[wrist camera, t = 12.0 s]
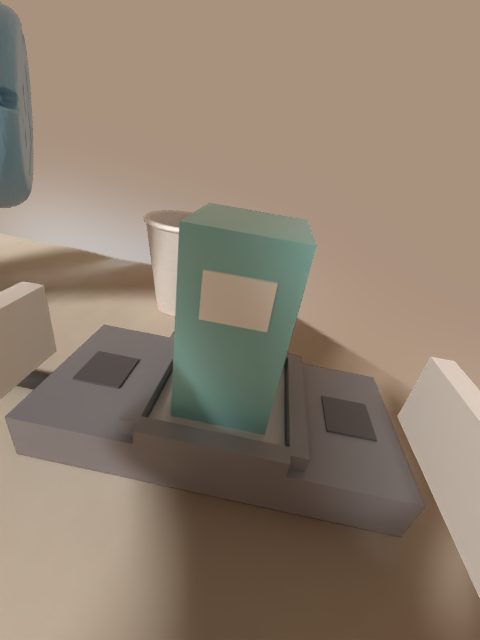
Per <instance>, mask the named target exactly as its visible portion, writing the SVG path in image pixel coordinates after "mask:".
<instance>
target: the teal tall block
mask: <svg viewBox="0 0 480 640" xmlns="http://www.w3.org/2000/svg"><path fill="white" fill-rule="evenodd" d="M315 249H316V243H315V241H314V238H313V235H312V233H311V230H310V227H309V224H308V222H307V220H303V219H298V218H292V217H287V216H281V215H275V214H270V213H264V212H258V211H252V210H247V209H241V208H235V207H230V206H224V205H218V204H212V203H208V204H207V205H205V206H203V207H202V208H200V209H199V210H197V211H195V212H194V213H192V214H190V215H189V216H187V217H185V218H184V219H182V220H180V221H179V242H178V264H177V286H176V309H175V331H174V353H173V376H172V398H171V416H173V417H178V418H183V419H188V420H193V421H198V422H202V423H207V424H212V425H217V426H222V427H226V428H231V429H236V430H241V431H246V432H251V433H255V434H260V435H265V432H266V428H267V425H268V421H269V417H270V414H271V410H272V406H273V403H274V399H275V395H276V392H277V388H278V384H279V381H280V377H281V373H282V370H283V366H284V362H285V359H286V355H287V351H288V348H289V344H290V341H291V337H292V333H293V330H294V326H295V322H296V319H297V315H298V311H299V307H300V304H301V300H302V297H303V293H304V289H305V286H306V282H307V278H308V275H309V271H310V267H311V263H312V260H313V256H314V252H315Z"/></svg>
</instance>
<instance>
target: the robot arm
mask: <svg viewBox="0 0 480 640" xmlns="http://www.w3.org/2000/svg"><path fill="white" fill-rule="evenodd" d="M32 180H33V126H32V108H31V92H30V80H29V70H28V60H27V52H26V45H25V40H24V36H23V33H22V29H21V22H20V20H19V17H18V15H17V14H16V13H15V12H14V11H13V10H12V9H11V8H9V7H8V6H5V5H3V4H1V3H0V208H10V207H13V206H17V205H19V204H21V203H22V202H24V201H25V200H26V199H27V198H28V196H29V195H30V192H31V189H32ZM56 351H57V350H56V345H55V340H54V335H53V329H52V324H51V319H50V313H49V308H48V303H47V298H46V292H45V287H44V285H41V284H35V283H30V282H25V281H22V282H20V283H18V284H16V285H13V286H11V287H9V288H7V289H5V290H3V291H1V292H0V399H1V398H3V397H4V396H5V395H6V394H7V393H8V392H9V391H11V390H12V389H13V388H14V387H15V386H16V385H18V384H19V383H20V382H21V381H22V380H23V379H25V378H26V377H27V376H28V375H29V374H30V373H31V372H33V371H34V370H35V369H36V368H37V367H38V366H40V365H41V364H42V363H43V362H44V361H45V360H47V359H48V358H49V357H50V356H51V355H52V354H54V353H55V352H56ZM397 417H398V419H399V422H400V424H401V426H402V428H403V430H404V433H405V435H406V437H407V439H408V441H409V444H410V446H411V448H412V450H413V453H414V455H415V457H416V459H417V461H418V464H419V466H420V468H421V470H422V472H423V475H424V477H425V479H426V481H427V483H428V486H429V488H430V490H431V492H432V495H433V497H434V499H435V501H436V503H437V506H438V508H439V510H440V512H441V514H442V517H443V519H444V521H445V523H446V525H447V528H448V530H449V532H450V534H451V537H452V539H453V541H454V543H455V545H456V548H457V550H458V552H459V554H460V556H461V559H462V561H463V563H464V565H465V567H466V570H467V572H468V574H469V576H470V578H471V581H472V583H473V585H474V587H475V590H476V592H477V594H478V596H479V598H480V390H479V389H478V388H477V387H476V386H475V385H474V383H473V382H472V381H471V380H470V379H469V378H468V377H467V375H466V374H465V373H464V372H463V371H462V369H461V368H460V367H459V366H458V365H457V364H456V362H455V361H451V360H445V359H440V358H434V357H431V358H430V359H429V361H428V363H427V365H426V366H425V368H424V370H423V372H422V373H421V375H420V377H419V379H418V381H417V382H416V384H415V386H414V388H413V389H412V391H411V393H410V395H409V396H408V398H407V400H406V402H405V404H404V405H403V407H402V409H401V411H400V412H399V414H398V416H397Z"/></svg>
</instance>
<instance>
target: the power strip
mask: <svg viewBox="0 0 480 640" xmlns="http://www.w3.org/2000/svg"><path fill="white" fill-rule="evenodd" d="M173 353H174V332H173V334H172V335H171V337H170V338H169V337H164V336H159V335H154V334H149V333H144V332H139V331H134V330H129V329H123V328H118V327H113V326H108V325H103V326H102V327H101V328H100V329H99V330H98V331H97V332H96V333H95V334H93V335H92V336H91V337H90V338H89V339H88V340H87V341H86V342H85V343H84V344H83V345H82V346H81V347H79V348H78V349H77V350H76V351H75V352H74V353H73V354H72V355H71V356H70V357H69V358H68V359H67V360H65V361H64V362H63V363H62V364H61V365H60V366H59V367H58V368H57V369H56V370H55V371H54V372H53V373H51V374H50V375H49V374H44V373H40V372H35V371H33V372H31V373H30V374H29V375H28V376H27V377H26V378H25V379H23V380H22V381H21V382H20V383H19V384H18V385H16V386H20V387H25V388H29V389H34V390H33V391H32V392H31V393H30V394H29V395H28V396H27V397H26V398H25V399H23V400H22V401H21V402H20V403H19V404H18V405H17V406H16V407H15V408H14V409H13V410H12V411H11V412H9V413H8V414H7V415H6V416H5V420H6V423H7V426H8V429H9V432H10V434H11V437H12V440H13V443H14V446H15V449H16V452H17V454H21V455H25V456H30V457H34V458H39V459H44V460H48V461H53V462H57V463H62V464H67V465H71V466H76V467H80V468H85V469H90V470H94V471H99V472H103V473H108V474H113V475H117V476H122V477H126V478H131V479H136V480H140V481H145V482H149V483H154V484H159V485H163V486H168V487H172V488H177V489H181V490H186V491H191V492H195V493H200V494H204V495H209V496H214V497H218V498H223V499H227V500H232V501H237V502H241V503H246V504H250V505H255V506H260V507H264V508H269V509H273V510H278V511H283V512H287V513H292V514H296V515H301V516H306V517H310V518H315V519H319V520H324V521H329V522H333V523H338V524H342V525H347V526H352V527H356V528H361V529H365V530H370V531H375V532H379V533H384V534H388V535H393V536H398V537H402V535H403V534H404V533H405V532H406V530H407V529H408V528H409V527H410V525H411V524H412V523H413V522H414V520H415V519H416V518H417V517H418V515H419V514H420V513H421V512H422V510H423V509H424V508H425V507H426V506H425V504H424V501H423V499H422V496H421V494H420V491H419V489H418V487H417V484H416V482H415V479H414V477H413V474H412V472H411V469H410V467H409V464H408V462H407V459H406V457H405V455H404V452H403V450H402V447H401V445H400V442H399V440H398V437H397V435H396V432H395V430H394V427H393V425H392V423H391V420H390V418H389V415H388V413H387V410H386V408H385V405H384V403H383V400H382V398H381V395H380V393H379V391H378V388H377V386H376V383H375V381H374V378H373V377H368V376H363V375H358V374H353V373H348V372H343V371H338V370H332V369H327V368H322V367H317V366H312V365H307V364H302V361H301V356H297V355H292V354H288V351H287V355H286V359H285V362H284V366H283V370H282V373H281V377H280V381H279V384H278V388H277V392H276V395H275V399H274V403H273V406H272V410H271V414H270V417H269V421H268V425H267V428H266V432H265V435H260V434H255V433H251V432H246V431H241V430H236V429H231V428H226V427H222V426H217V425H212V424H207V423H202V422H198V421H193V420H188V419H183V418H178V417H173V416H171V398H172V376H173Z"/></svg>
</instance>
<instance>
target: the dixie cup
mask: <svg viewBox="0 0 480 640" xmlns="http://www.w3.org/2000/svg"><path fill="white" fill-rule="evenodd" d="M190 214H192V212H185V211H172V210H168V211H167V210H164V211H163V210H162V211H153V212H149V213H147V214H146V215H145V216H144V221H145V222H146V223H147V231H148V239H149V247H150V254H151V262H152V270H153V278H154V285H155V293H156V301H157V307H158V309H159V310H160V311H161V312H163V313H165V314H167V315H170V316H175V309H176V286H177V264H178V242H179V221H180V220H182V219H184V218H185V217H187V216H189V215H190Z"/></svg>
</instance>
